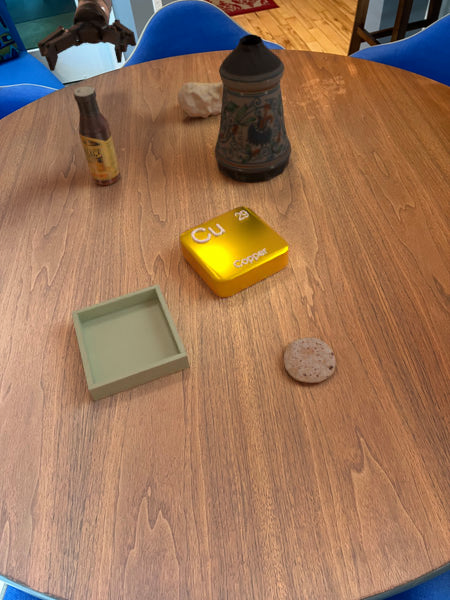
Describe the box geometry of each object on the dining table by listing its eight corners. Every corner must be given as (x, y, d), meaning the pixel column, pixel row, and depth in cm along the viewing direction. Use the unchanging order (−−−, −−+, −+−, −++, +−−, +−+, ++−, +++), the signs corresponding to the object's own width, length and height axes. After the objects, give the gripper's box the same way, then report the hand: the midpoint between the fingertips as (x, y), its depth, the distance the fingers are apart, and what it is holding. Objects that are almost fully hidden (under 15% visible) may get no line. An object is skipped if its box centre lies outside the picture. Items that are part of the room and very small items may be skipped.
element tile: (220, 302, 80) (218, 283, 76) (178, 252, 88) (174, 232, 85) (293, 265, 84) (294, 244, 81) (245, 220, 93) (244, 200, 89)
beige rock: (169, 125, 122) (192, 106, 109) (166, 96, 122) (188, 72, 108) (222, 127, 129) (250, 108, 116) (219, 99, 129) (247, 77, 115)
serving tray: (76, 323, 79) (71, 311, 77) (161, 295, 82) (158, 283, 79) (94, 401, 69) (88, 390, 67) (190, 367, 72) (187, 355, 70)
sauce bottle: (87, 181, 105) (57, 93, 90) (107, 167, 108) (81, 79, 93) (108, 190, 102) (81, 101, 87) (128, 175, 106) (105, 86, 91)
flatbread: (334, 387, 68) (335, 384, 67) (281, 381, 69) (281, 377, 68) (335, 341, 73) (336, 337, 72) (286, 336, 74) (286, 332, 73)
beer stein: (234, 192, 99) (227, 70, 80) (199, 148, 111) (185, 32, 92) (304, 169, 103) (313, 47, 84) (263, 128, 115) (262, 13, 96)
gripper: (149, 31, 112) (149, 71, 99) (43, 44, 112) (28, 85, 98) (143, -5, 107) (142, 32, 93) (31, 8, 106) (14, 47, 93)
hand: (84, 59), depth 96 cm, fingers open, 13 cm apart
